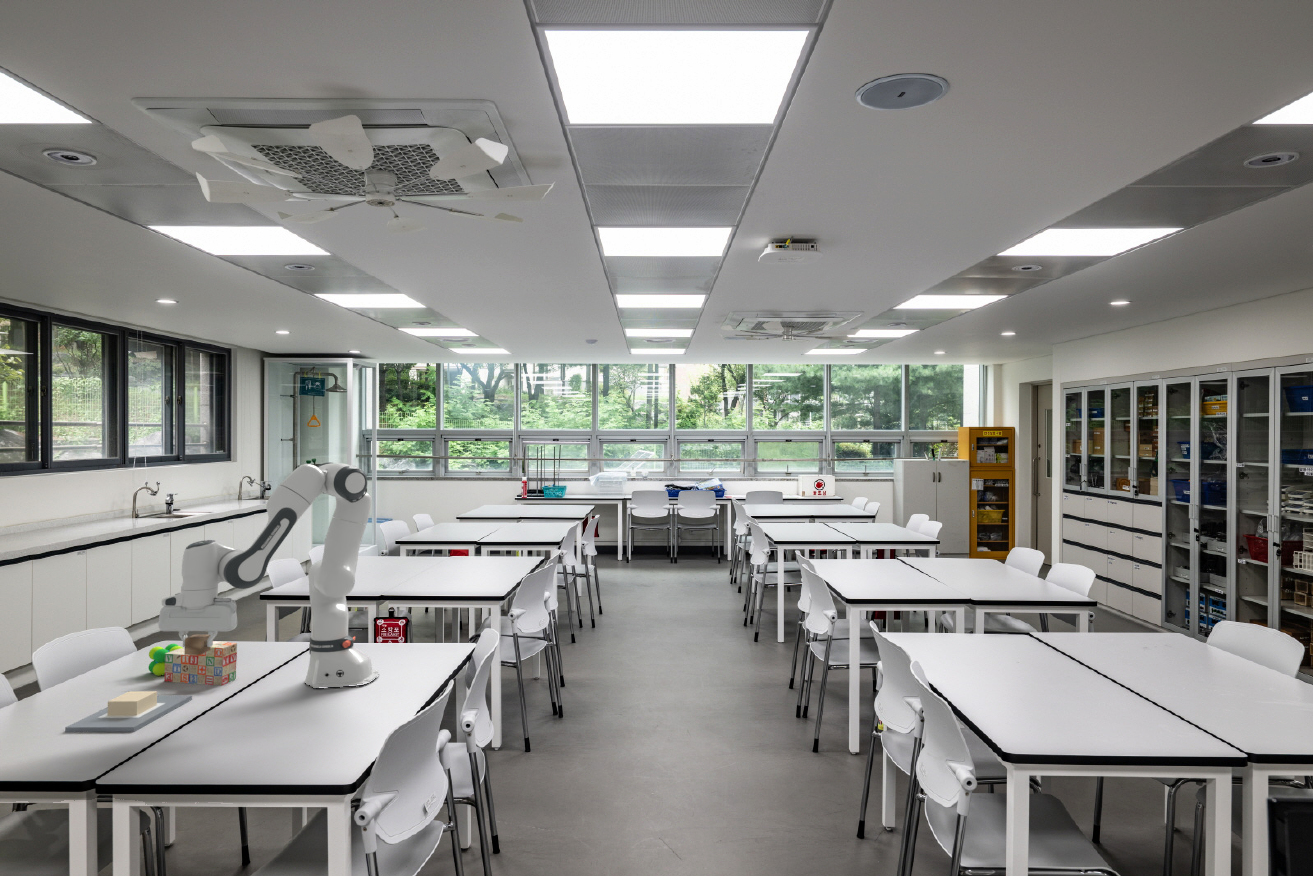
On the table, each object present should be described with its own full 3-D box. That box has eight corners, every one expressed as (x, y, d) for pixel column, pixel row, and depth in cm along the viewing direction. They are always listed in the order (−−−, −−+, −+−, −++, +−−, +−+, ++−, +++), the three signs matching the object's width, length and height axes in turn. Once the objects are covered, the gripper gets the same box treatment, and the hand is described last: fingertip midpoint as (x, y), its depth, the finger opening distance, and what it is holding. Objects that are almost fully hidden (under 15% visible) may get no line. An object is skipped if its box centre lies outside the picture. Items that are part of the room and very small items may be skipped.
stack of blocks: (163, 682, 223) (164, 644, 223) (179, 676, 229) (180, 639, 230) (222, 686, 220) (222, 647, 220) (236, 679, 226) (237, 642, 226)
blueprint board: (191, 699, 207) (192, 682, 207) (134, 731, 183) (134, 712, 183) (131, 699, 207) (131, 682, 207) (65, 732, 183) (65, 712, 183)
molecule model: (185, 672, 233) (176, 666, 239) (186, 646, 233) (177, 641, 239) (155, 678, 226) (146, 673, 232) (155, 651, 226) (147, 646, 232)
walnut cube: (210, 650, 198) (211, 634, 198) (200, 654, 194) (201, 638, 194) (194, 650, 198) (195, 634, 198) (184, 654, 193) (184, 638, 193)
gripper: (242, 595, 200) (241, 643, 199) (170, 595, 199) (169, 643, 199) (230, 600, 193) (228, 649, 193) (155, 600, 193) (154, 649, 192)
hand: (197, 646), depth 196 cm, fingers closed on walnut cube, 4 cm apart
